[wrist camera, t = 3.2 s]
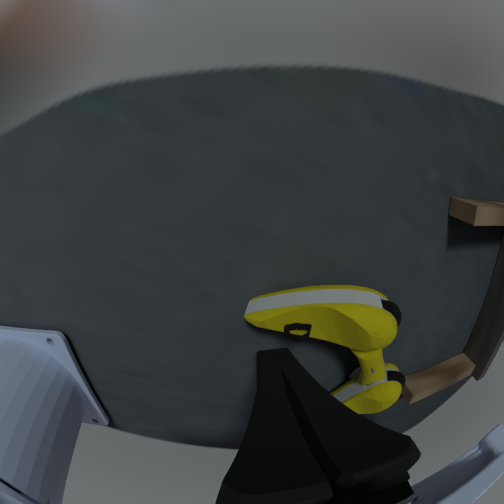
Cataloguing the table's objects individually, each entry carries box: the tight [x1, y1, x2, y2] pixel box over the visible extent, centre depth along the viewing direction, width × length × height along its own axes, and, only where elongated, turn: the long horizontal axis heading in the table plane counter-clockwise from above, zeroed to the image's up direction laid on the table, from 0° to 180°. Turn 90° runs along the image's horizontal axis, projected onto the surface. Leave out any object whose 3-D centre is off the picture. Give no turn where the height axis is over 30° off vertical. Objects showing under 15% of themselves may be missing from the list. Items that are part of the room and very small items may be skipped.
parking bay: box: [401, 197, 504, 404], centre depth 13 cm, size 8×14×3 cm, turn 1°
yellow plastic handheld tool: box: [244, 285, 406, 414], centre depth 13 cm, size 10×6×4 cm, turn 24°
